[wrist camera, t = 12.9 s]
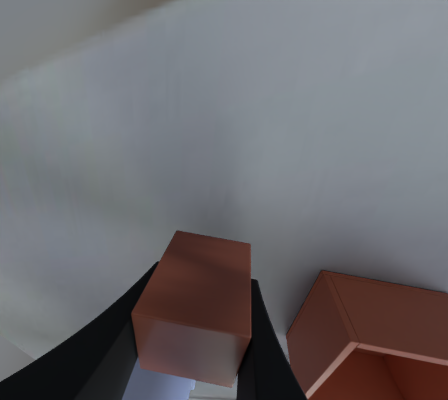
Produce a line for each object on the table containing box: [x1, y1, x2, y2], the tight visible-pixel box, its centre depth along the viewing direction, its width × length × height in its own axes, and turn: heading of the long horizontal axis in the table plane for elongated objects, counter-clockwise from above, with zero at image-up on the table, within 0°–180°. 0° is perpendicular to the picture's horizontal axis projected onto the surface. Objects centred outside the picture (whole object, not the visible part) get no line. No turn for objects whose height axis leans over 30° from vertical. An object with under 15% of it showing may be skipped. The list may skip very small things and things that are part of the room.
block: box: [131, 231, 251, 388], centre depth 10 cm, size 4×4×5 cm
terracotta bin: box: [286, 270, 448, 400], centre depth 15 cm, size 10×10×5 cm
